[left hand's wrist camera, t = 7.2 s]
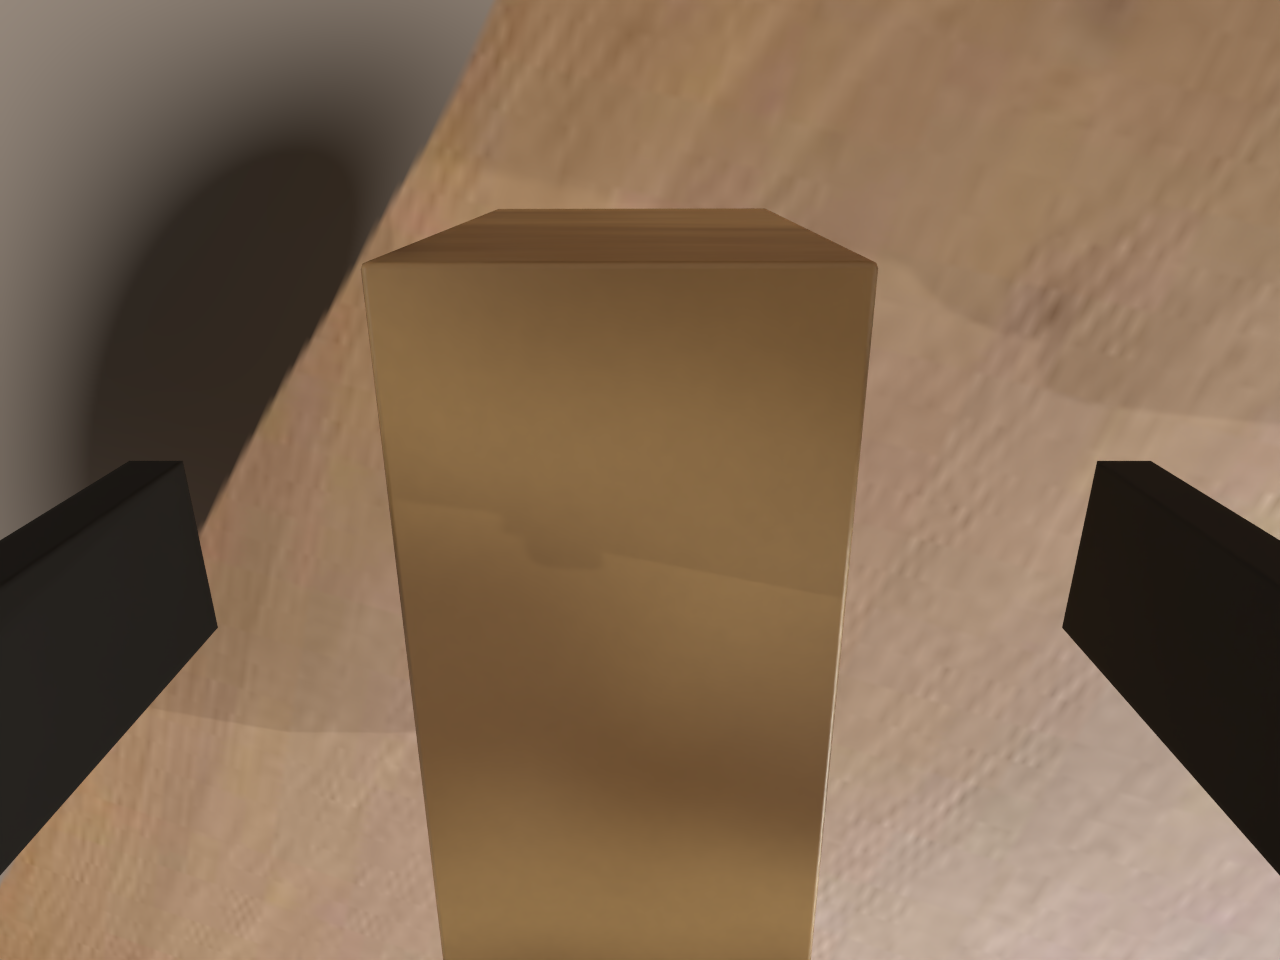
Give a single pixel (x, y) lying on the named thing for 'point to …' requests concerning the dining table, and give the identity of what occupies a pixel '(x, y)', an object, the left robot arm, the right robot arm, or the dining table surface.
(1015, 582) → the dining table surface
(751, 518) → the box
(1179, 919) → the dining table surface
